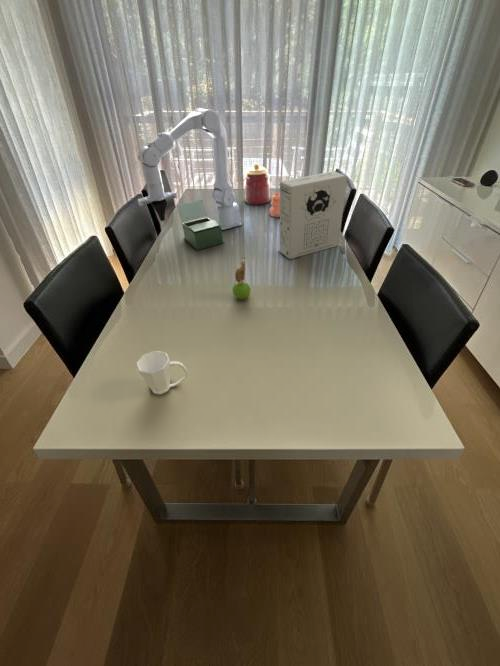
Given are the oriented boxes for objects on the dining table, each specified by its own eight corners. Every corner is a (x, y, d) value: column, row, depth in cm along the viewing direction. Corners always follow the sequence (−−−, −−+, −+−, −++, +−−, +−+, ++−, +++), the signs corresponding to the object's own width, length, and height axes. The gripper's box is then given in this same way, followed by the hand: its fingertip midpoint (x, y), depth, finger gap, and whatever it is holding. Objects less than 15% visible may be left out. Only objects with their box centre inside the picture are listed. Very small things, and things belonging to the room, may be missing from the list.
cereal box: (327, 238, 133) (333, 170, 118) (339, 245, 128) (347, 175, 112) (279, 251, 127) (279, 181, 111) (289, 259, 121) (291, 186, 106)
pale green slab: (182, 221, 136) (181, 221, 136) (207, 215, 140) (206, 215, 140) (177, 204, 134) (176, 205, 134) (202, 199, 138) (202, 199, 138)
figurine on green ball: (254, 292, 105) (252, 257, 98) (247, 303, 101) (245, 267, 93) (238, 290, 107) (235, 255, 99) (230, 301, 102) (226, 265, 95)
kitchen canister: (243, 205, 170) (240, 167, 158) (247, 196, 179) (245, 160, 168) (268, 205, 168) (268, 166, 156) (271, 196, 177) (271, 160, 166)
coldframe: (184, 238, 141) (181, 221, 136) (209, 232, 145) (207, 215, 140) (197, 250, 132) (194, 231, 127) (222, 242, 136) (221, 224, 131)
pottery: (306, 208, 161) (307, 187, 155) (310, 215, 154) (311, 193, 147) (268, 211, 160) (268, 190, 154) (271, 218, 153) (270, 196, 147)
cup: (147, 377, 79) (138, 352, 74) (190, 372, 79) (184, 347, 74) (143, 401, 73) (133, 375, 68) (189, 395, 74) (182, 369, 69)
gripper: (138, 190, 119) (147, 227, 127) (176, 182, 124) (183, 218, 133) (132, 185, 124) (142, 221, 132) (170, 178, 129) (177, 213, 138)
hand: (162, 220), depth 133 cm, fingers closed
